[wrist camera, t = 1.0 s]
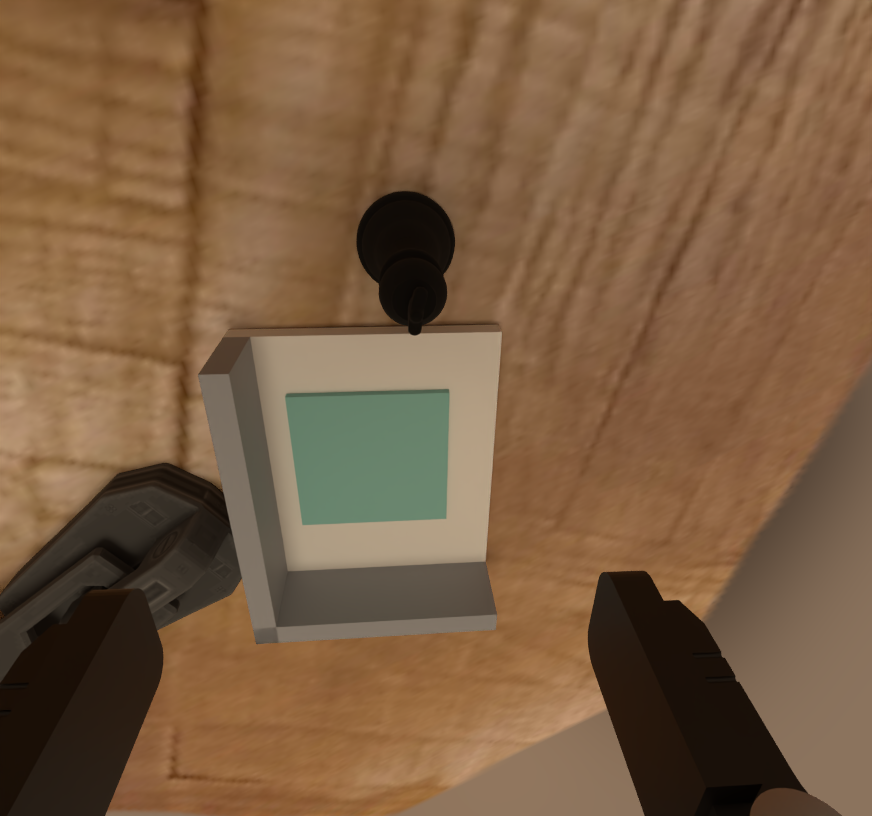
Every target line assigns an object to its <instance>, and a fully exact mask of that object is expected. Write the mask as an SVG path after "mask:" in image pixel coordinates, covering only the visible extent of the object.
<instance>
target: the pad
mask: <svg viewBox="0 0 872 816" xmlns="http://www.w3.org/2000/svg"><path fill="white" fill-rule="evenodd" d="M285 401H286V408H287V416H288V423H289V430H290V438H291V445H292V452H293V460H294V467H295V474H296V482H297V489H298V496H299V504H300V511H301V518H302V525H319V524H341V523H364V522H386V521H409V520H431V519H446V512H447V472H448V432H449V389H439V390H402V391H365V392H328V393H290V394H286V396H285Z"/></svg>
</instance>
